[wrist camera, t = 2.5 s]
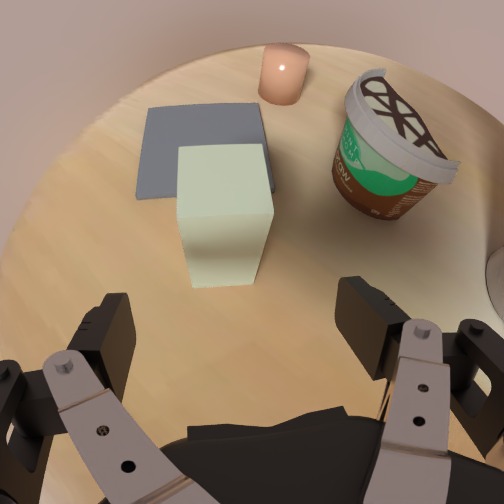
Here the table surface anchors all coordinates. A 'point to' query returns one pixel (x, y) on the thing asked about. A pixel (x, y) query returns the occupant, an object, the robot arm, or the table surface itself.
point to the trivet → (192, 140)
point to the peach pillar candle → (282, 73)
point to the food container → (386, 151)
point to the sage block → (223, 212)
